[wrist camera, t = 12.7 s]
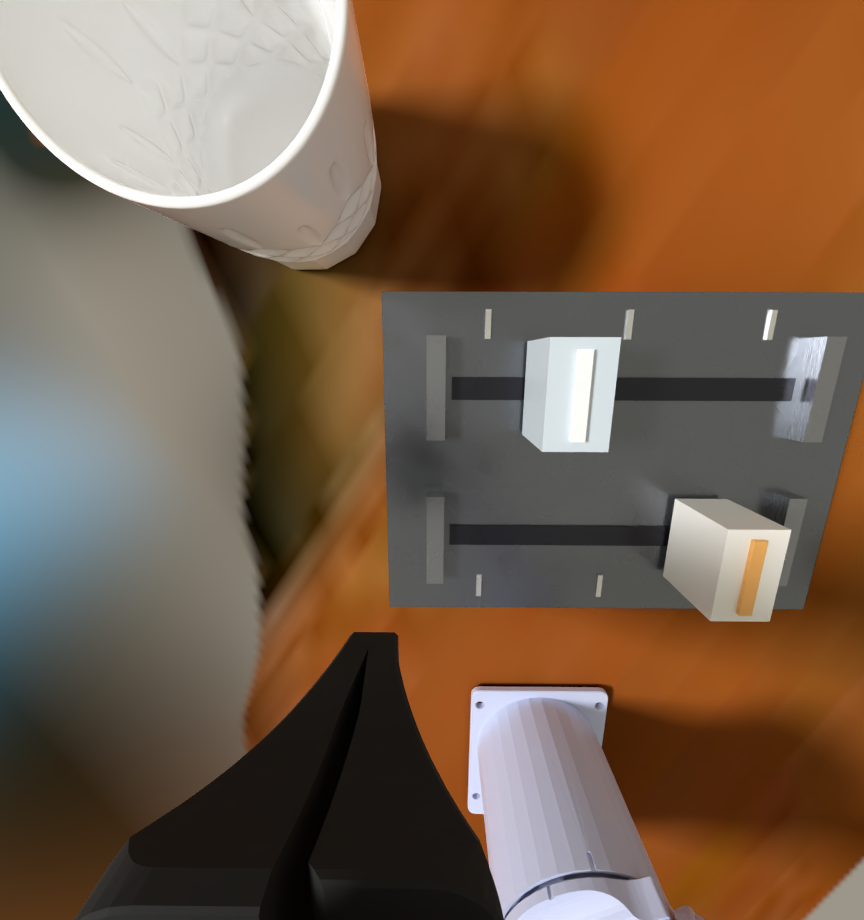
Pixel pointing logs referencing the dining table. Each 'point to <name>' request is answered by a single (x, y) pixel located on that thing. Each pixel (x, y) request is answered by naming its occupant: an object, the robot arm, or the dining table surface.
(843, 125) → the dining table surface
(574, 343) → the fader bluegrey
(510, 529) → the console
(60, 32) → the white cup
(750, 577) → the fader cream
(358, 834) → the robot arm
